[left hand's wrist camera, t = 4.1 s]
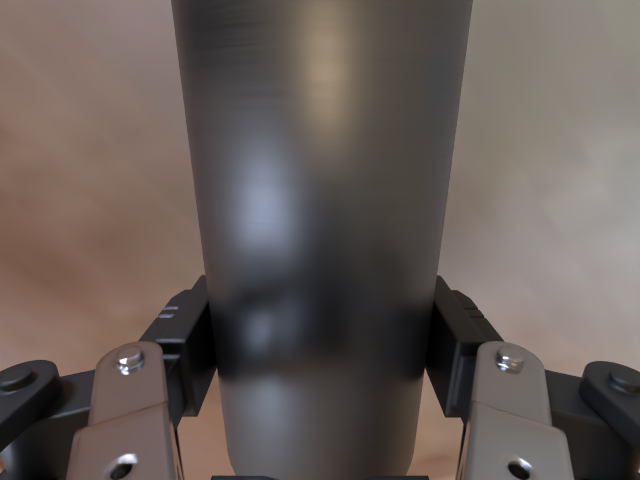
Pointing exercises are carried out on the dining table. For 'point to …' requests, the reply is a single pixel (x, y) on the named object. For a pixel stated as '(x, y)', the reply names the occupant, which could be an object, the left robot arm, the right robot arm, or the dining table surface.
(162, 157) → the dining table surface
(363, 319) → the rod
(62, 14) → the dining table surface
